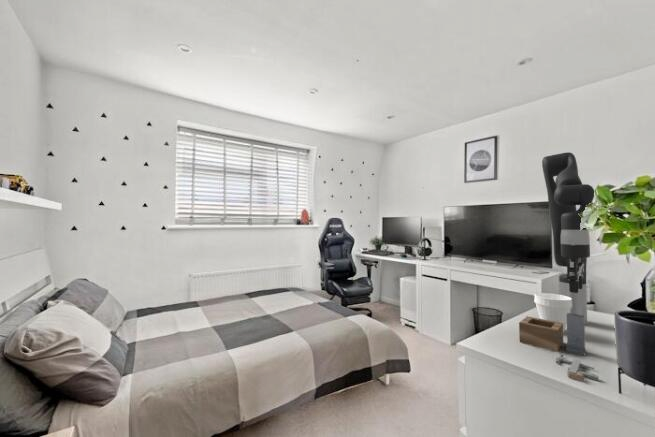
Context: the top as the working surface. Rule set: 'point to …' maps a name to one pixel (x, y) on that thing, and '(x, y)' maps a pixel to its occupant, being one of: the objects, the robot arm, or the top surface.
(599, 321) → the top surface
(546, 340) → the well block
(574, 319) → the grey upright bar
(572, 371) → the clamp
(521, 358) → the top surface
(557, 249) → the robot arm
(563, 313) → the cup
